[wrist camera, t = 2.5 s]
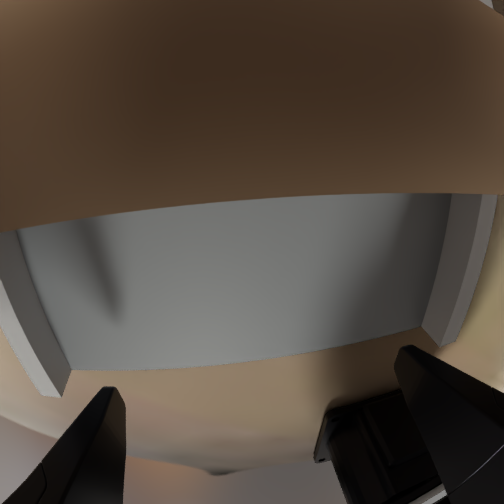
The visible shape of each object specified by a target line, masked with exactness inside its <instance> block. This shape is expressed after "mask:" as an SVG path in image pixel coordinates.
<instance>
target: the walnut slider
mask: <svg viewBox="0 0 504 504" xmlns="http://www.w3.org/2000/svg"><path fill="white" fill-rule="evenodd" d="M377 193H460V194H492V195H504V16H502V15H501V14H499V13H498V12H496V11H495V10H493V9H492V8H490V7H489V6H487V5H486V4H484V3H483V2H481V1H480V0H0V233H2V232H7V231H12V230H17V229H23V228H28V227H34V226H39V225H45V224H51V223H57V222H63V221H69V220H76V219H82V218H89V217H96V216H103V215H110V214H117V213H125V212H133V211H141V210H149V209H157V208H166V207H175V206H185V205H195V204H205V203H216V202H227V201H239V200H252V199H266V198H281V197H298V196H318V195H342V194H377Z"/></svg>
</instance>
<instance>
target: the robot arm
mask: <svg viewBox="0 0 504 504" xmlns="http://www.w3.org/2000/svg"><path fill="white" fill-rule="evenodd" d="M394 370H395V373H396V376H397V379H398V381H399V384H400V387H401V390H398V391H395V392H392V393H389V394H386V395H383V396H380V397H377V398H374V399H370V400H367V401H363V402H360V403H356V404H353V405H349V406H345V407H342V408H338V409H334V410H331V411H330V412H328V413H327V414H326V415H325V418H324V422H323V425H322V429H321V433H320V436H319V440H318V443H317V447H316V450H315V454H314V457H313V458H314V461H315V463H322V462H326V461H330V460H331V461H332V463H333V467H334V469H335V472H336V475H337V478H338V480H339V483H340V486H341V488H342V491H343V494H344V497H345V499H346V502H347V504H422V503H423V502H425V501H427V500H428V499H430V498H432V497H433V496H435V495H437V494H438V493H440V492H441V491H443V490H446V493H447V495H446V496H444V497H443V498H441V499H440V500H438V501H436V502H435V503H433V504H504V393H502V392H500V391H498V390H497V389H495V388H493V387H492V388H491V386H489V385H487V384H485V383H483V382H481V381H479V380H478V379H476V378H474V377H472V376H470V375H468V374H466V373H464V372H462V371H461V370H459V369H457V368H455V367H453V366H451V365H449V364H447V363H446V362H444V361H442V360H440V359H438V358H436V357H434V356H432V355H431V354H429V353H427V352H425V351H423V350H421V349H419V348H417V347H416V346H414V345H406V346H403V347H401V348H400V349H399V352H398V355H397V357H396V360H395V363H394ZM125 460H126V407H125V403H124V401H123V399H122V397H121V395H120V393H119V392H118V390H117V388H116V387H107V386H105V387H103V388H101V389H100V391H99V392H98V393H97V394H96V395H95V397H94V398H93V399H92V400H91V401H90V402H89V404H88V405H87V406H86V407H85V408H84V410H83V411H82V412H81V413H80V414H79V416H78V417H77V418H76V419H75V420H74V422H73V423H72V424H71V425H70V426H69V428H68V429H67V430H66V431H65V432H64V434H63V435H62V436H61V437H60V439H59V440H58V441H57V442H56V443H55V445H54V446H53V447H52V448H51V450H50V451H49V452H48V453H47V455H46V456H45V457H44V458H43V460H42V463H39V464H38V466H37V467H36V468H35V469H34V471H33V472H32V473H31V474H30V475H29V476H28V478H27V479H26V480H25V481H24V482H23V483H22V484H21V485H20V486H19V487H18V488H17V490H15V491H14V492H13V493H12V494H11V495H10V496H9V497H8V499H6V500H5V501H4V502H3V503H2V504H123V489H124V472H125Z"/></svg>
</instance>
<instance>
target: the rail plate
mask: <svg viewBox="0 0 504 504" xmlns="http://www.w3.org/2000/svg"><path fill="white" fill-rule="evenodd" d="M480 1H481V2H483V3H484V4H486V5H487V6H489V7H490V8H492V9H493V5H492V1H491V0H480ZM493 10H494V9H493ZM497 197H498V195H492V194H460V193H377V194H342V195H318V196H298V197H281V198H266V199H252V200H239V201H227V202H216V203H205V204H195V205H185V206H175V207H166V208H157V209H149V210H141V211H133V212H125V213H117V214H110V215H103V216H96V217H89V218H82V219H76V220H69V221H63V222H57V223H51V224H45V225H39V226H34V227H28V228H23V229H17V230H12V231H7V232H2V233H0V326H1V328H2V330H3V332H4V334H5V336H6V338H7V340H8V342H9V344H10V345H11V347H12V349H13V351H14V353H15V354H16V356H17V358H18V360H19V361H20V363H21V365H22V366H23V368H24V370H25V371H26V373H27V374H28V376H29V378H30V379H31V381H32V382H33V384H34V385H35V387H36V388H37V390H38V391H39V393H40V394H41V395H42V396H51V397H61V398H62V395H63V392H64V389H65V386H66V384H67V381H68V378H69V375H70V373H71V370H154V369H174V368H189V367H201V366H212V365H222V364H232V363H240V362H249V361H256V360H264V359H271V358H278V357H284V356H290V355H296V354H302V353H308V352H313V351H319V350H324V349H329V348H334V347H339V346H344V345H349V344H353V343H358V342H362V341H366V340H371V339H375V338H379V337H383V336H387V335H391V334H395V333H399V332H402V331H406V330H410V329H413V328H417V327H420V326H421V327H422V328H423V329H424V330H425V331H426V332H427V334H428V335H429V336H430V337H431V338H432V339H433V340H434V342H435V343H436V344H437V345H438V346H439V347H442V346H444V345H447V344H450V343H452V342H455V341H456V339H457V336H458V334H459V332H460V329H461V327H462V324H463V322H464V319H465V317H466V314H467V311H468V308H469V306H470V303H471V300H472V297H473V294H474V291H475V288H476V285H477V282H478V279H479V275H480V272H481V269H482V265H483V261H484V258H485V254H486V250H487V246H488V242H489V238H490V233H491V229H492V224H493V219H494V214H495V209H496V203H497Z"/></svg>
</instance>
